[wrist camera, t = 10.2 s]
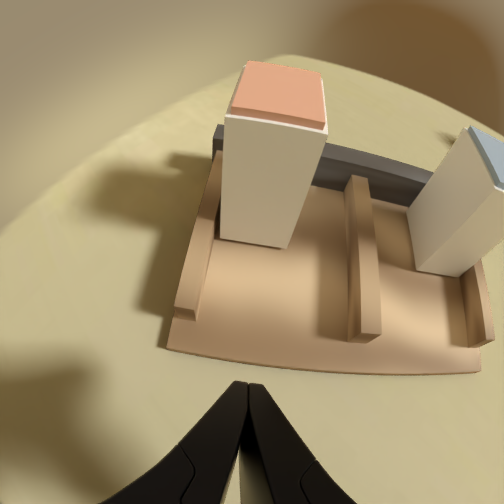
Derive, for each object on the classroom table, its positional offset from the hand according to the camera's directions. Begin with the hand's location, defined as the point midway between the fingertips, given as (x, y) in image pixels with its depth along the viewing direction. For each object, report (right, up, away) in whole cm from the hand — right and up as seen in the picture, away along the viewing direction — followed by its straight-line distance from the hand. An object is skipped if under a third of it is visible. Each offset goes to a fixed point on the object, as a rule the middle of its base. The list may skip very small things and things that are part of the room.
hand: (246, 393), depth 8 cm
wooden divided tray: (+7, +3, +11) cm, 13 cm away
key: (0, +6, +12) cm, 14 cm away
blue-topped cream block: (+13, +4, +13) cm, 19 cm away
